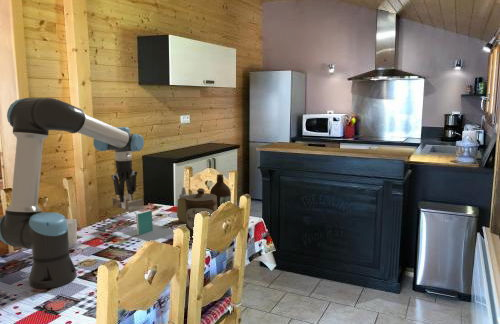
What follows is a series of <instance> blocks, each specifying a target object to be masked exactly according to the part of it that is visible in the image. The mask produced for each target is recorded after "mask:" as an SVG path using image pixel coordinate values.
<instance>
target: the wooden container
mask: <svg viewBox="0 0 500 324" xmlns="http://www.w3.org/2000/svg"><path fill="white" fill-rule="evenodd" d="M188 195H189V196H186V197H185V203H186V223H185V225H186V226H185V227H187V228H188V229H189V230H190V237H191V238H190V239H192V236H193V227H194V217H195V214H197V213H199V212H201V211H207V212H209V213H210V215H211V214H212V213H213V212H214V211H216V210H217V196H216V195H214V194H210V193H206V191H205V189H204V188H198V189H197V190H196V193H193V194H188Z"/></svg>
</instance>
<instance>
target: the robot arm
mask: <svg viewBox="0 0 500 324" xmlns="http://www.w3.org/2000/svg"><path fill="white" fill-rule="evenodd" d="M6 117H7V118H6V119H7V121H8V123H9V125H10V126H11V127H12V134H13V135H14V137H16V145H15V157H14V166H13V169H14V170H13V178H12V187H11V188H12V189H11V190H12V191H11V200H10V201H11V202H10V205H8V206H7V207H6V208H5V210H4V211H5V213H4V214H3V215H2V216H1V218H0V241H1V242H2V243H3V244H5V245H8V246H10V247H14V248H21V249H28V250H31V252H32V264H31V269H30V273H29V277H28V281H29V282H28V283H29V286H30V287H32V288H35V289H41V290H42V289H53V288H54V289H55V288H57V287H62V286H64V285H67V284H69V283H71V282H73V281H74V280H75V279H76V278H77V270H76V267H75V264H74V262H73V260H72V258H71V256H70V245H69V241H68V226H67V222H66V219H67V218H66V217H65V216H64V215H63V214H61V213H60V212H59V213H58V212H54V211H53V212H52V211H50V212H48V211H44V212H42V208H41V207H40V206H39V205H38V204H39V194H40V193H39V192H40V181H41V172H42V171H41V170H42V158H43V146H44V141H45V140H47V138H48V137H49V132H50V131H58V132H59V131H60V132H66V133H69V134H77V133H78V134H81V135H83V136H85V137H89V138H91V139H93V147H94V148H95V150H97V151H98V152H106V151H114V159H115V169H116V171H115V173H114V174H112V175H110V176H111V178H112V182H113V186H114V193H115V195H117V196H119V198H120V202H121V205H122V208H123V209H122V208H121V209H122V210H126V200H131V201H133V195H134V193H135V192H136V191H137V190H136V189H137V174H138V171H134V170H133V168H132V167H133V160H132V158H133V157H132V156H133V155H132V152H141V151H142V150H143V148H144V144H145V140H144V137H143V136H142V135H141V134H137V133H131V130H130V127H128V126H119V127H118V126H117V127H116V126H114V125H111V124H108V123H106V122H104V121H102V120H100V119H97V118H95V117H93V116H90V115H88V114H86V113H85V111H84V110H83V109H81V108H79V107H77V106H74V105H72V104H70V103H68V102H65V101H62V100H61V99H56V98H54V97H24V98H18V99H16V100H15V101H13V102H12V103H11V104H10V105H9V107H8V109H7V113H6ZM125 185H126V190H127V193H126V195H125Z"/></svg>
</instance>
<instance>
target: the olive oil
mask: <svg viewBox="0 0 500 324" xmlns="http://www.w3.org/2000/svg"><path fill="white" fill-rule="evenodd" d="M209 194H214V195H216V196H217V209H218V207H219V206H220V205H221V204H222V203H225V202H227V201H230V202H231V203H232V192H231V189H230V186H228V184H226V183H225V181H224V174H222V173H219V174H216V183H214V185H213V186H212V187H211V189H210V191H209Z"/></svg>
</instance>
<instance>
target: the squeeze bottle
mask: <svg viewBox="0 0 500 324" xmlns="http://www.w3.org/2000/svg"><path fill="white" fill-rule="evenodd" d="M186 190H187V189H186V187H185V186H184V187H183V186H182V188H181V193H179V195H178V196H179V198H178V199H177V204H176V205H177V207H176V217H177V220H178V222H179V223H180V224H181V223H182V224H186V203H185V197H186V196H189V195H190V194H189V193H187V191H186Z"/></svg>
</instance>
